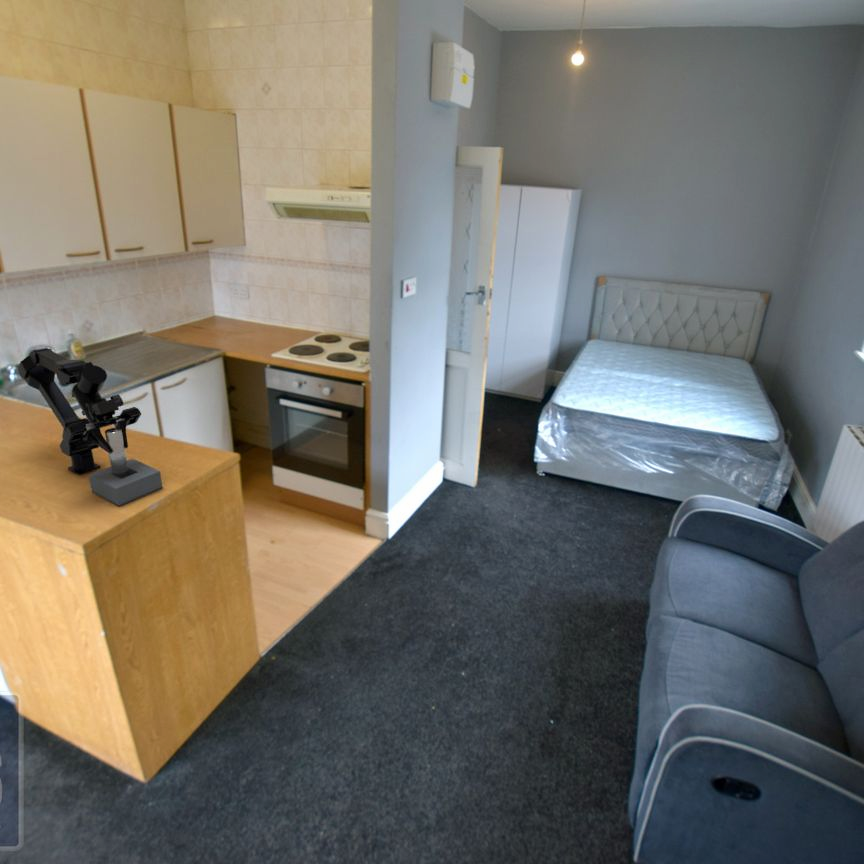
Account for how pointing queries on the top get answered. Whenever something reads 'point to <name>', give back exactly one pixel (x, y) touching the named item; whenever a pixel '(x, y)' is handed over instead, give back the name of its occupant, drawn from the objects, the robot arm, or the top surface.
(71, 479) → the top surface
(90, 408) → the robot arm
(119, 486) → the slate socket block
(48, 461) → the top surface
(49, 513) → the top surface
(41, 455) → the top surface
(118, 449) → the aluminium peg
